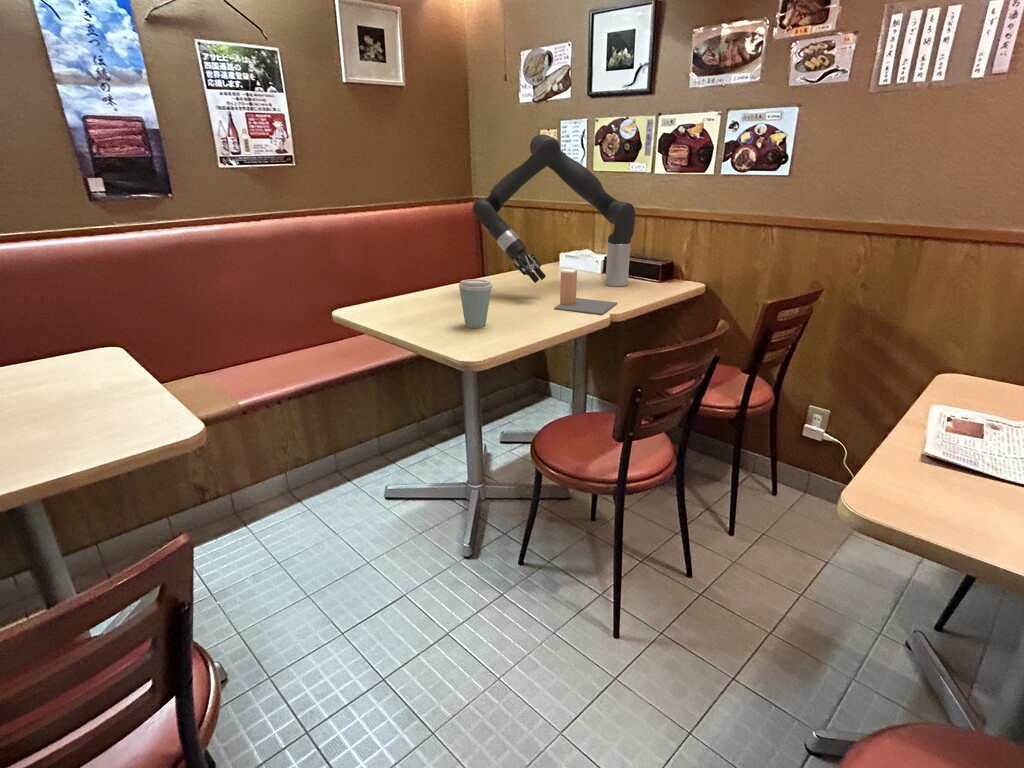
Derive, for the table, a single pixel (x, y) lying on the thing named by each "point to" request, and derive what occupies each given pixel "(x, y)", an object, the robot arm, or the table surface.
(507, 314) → the table surface
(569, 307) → the charcoal mat
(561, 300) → the terracotta block
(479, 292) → the disposable coffee cup
